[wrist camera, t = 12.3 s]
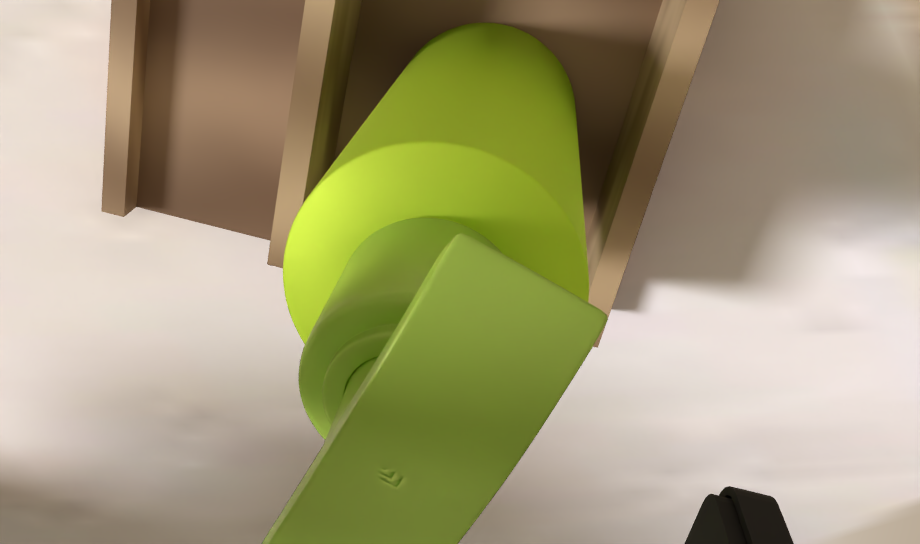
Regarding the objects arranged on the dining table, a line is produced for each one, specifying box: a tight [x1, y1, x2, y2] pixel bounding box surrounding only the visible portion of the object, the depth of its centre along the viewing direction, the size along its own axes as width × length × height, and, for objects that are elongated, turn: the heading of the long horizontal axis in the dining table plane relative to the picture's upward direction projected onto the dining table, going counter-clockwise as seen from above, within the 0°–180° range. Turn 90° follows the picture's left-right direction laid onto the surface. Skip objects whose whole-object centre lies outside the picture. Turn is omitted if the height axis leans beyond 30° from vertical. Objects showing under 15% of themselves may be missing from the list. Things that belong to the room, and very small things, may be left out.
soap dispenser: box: [262, 23, 608, 544], centre depth 19 cm, size 6×7×20 cm
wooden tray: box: [102, 0, 720, 348], centre depth 27 cm, size 14×18×5 cm
